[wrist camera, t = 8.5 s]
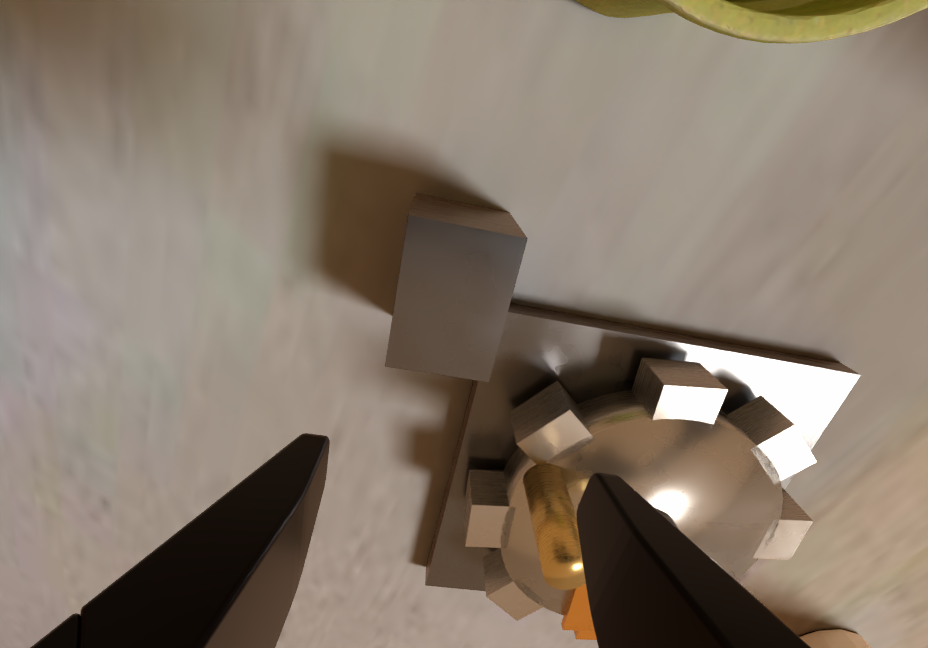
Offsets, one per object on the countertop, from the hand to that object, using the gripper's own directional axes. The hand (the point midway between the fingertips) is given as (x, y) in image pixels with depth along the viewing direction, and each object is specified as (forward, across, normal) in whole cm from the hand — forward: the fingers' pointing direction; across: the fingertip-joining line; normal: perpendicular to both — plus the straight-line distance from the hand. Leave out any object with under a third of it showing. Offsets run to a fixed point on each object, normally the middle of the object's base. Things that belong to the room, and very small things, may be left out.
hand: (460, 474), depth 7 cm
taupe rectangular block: (+11, 0, 0) cm, 11 cm away
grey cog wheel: (+10, -10, +9) cm, 17 cm away
